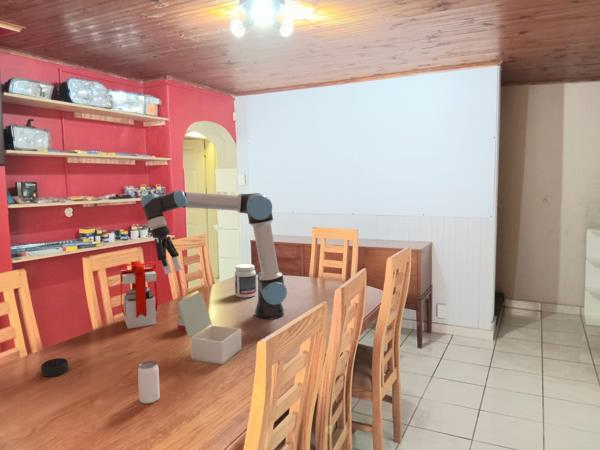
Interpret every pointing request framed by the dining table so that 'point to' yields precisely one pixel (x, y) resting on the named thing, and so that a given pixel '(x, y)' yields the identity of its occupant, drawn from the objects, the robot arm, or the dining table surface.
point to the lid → (194, 314)
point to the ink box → (180, 322)
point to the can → (148, 382)
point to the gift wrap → (139, 295)
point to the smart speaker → (54, 367)
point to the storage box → (216, 344)
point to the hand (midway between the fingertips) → (173, 272)
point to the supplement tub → (245, 281)
